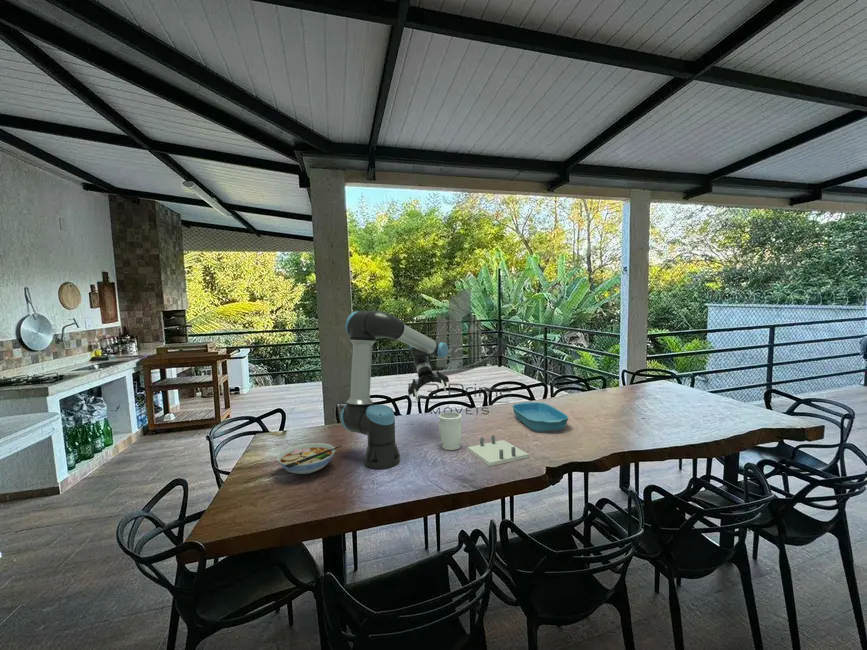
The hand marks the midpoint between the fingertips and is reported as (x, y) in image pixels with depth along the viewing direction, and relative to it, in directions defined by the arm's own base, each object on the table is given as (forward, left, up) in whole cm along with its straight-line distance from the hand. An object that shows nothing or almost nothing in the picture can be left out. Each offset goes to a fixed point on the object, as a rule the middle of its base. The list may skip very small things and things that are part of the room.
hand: (431, 394), depth 178 cm
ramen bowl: (-56, 0, -25) cm, 61 cm away
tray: (+22, -21, -25) cm, 39 cm away
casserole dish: (+64, +4, -25) cm, 69 cm away
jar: (+7, -5, -25) cm, 26 cm away
